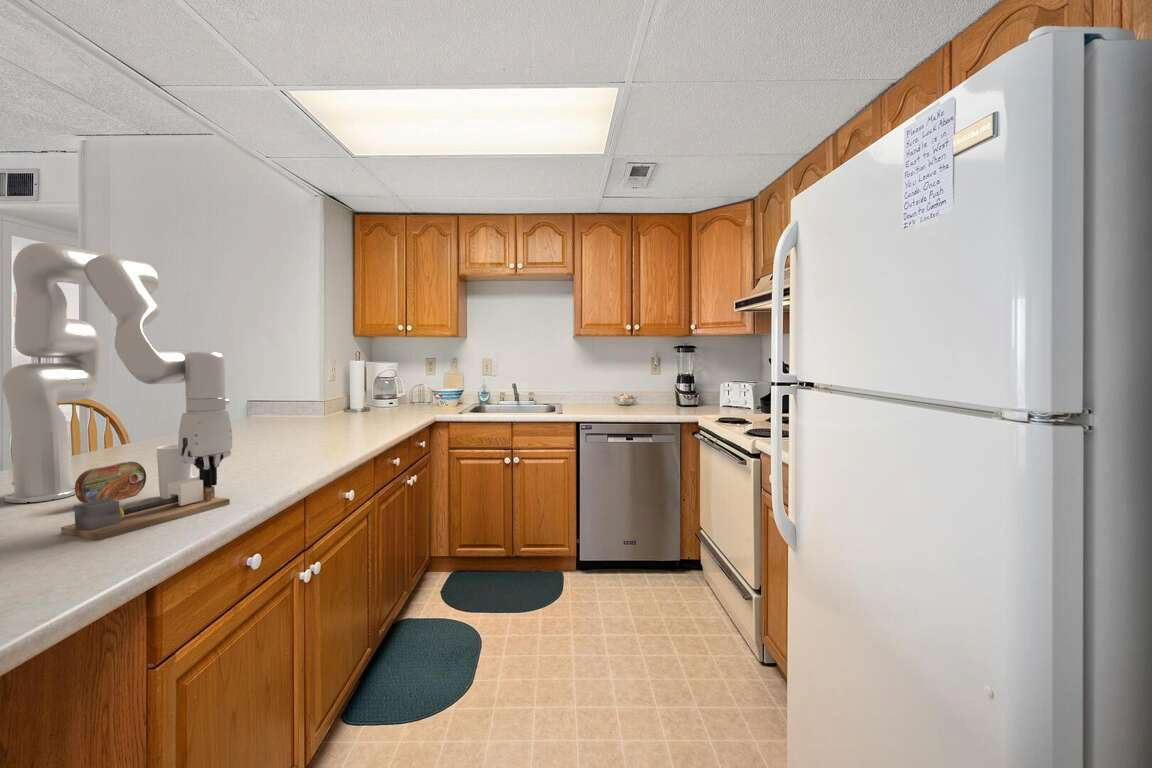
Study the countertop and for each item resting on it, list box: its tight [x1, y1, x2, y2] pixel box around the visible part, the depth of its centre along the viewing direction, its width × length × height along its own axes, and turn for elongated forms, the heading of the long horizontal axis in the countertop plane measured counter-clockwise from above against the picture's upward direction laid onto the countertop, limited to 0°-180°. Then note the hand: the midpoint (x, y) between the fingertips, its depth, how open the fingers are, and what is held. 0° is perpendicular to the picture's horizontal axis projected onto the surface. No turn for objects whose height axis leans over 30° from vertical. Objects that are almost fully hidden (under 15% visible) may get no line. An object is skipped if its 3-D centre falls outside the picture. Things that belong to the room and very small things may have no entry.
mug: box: [156, 443, 200, 500], centre depth 134 cm, size 10×7×12 cm, turn 118°
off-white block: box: [168, 479, 204, 506], centre depth 122 cm, size 4×5×4 cm
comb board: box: [60, 485, 231, 541], centre depth 116 cm, size 11×26×6 cm, turn 161°
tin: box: [74, 461, 147, 504], centre depth 129 cm, size 15×3×8 cm, turn 170°
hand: (208, 485), depth 127 cm, fingers closed
